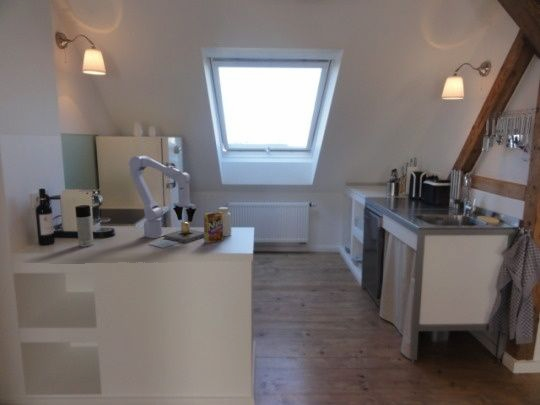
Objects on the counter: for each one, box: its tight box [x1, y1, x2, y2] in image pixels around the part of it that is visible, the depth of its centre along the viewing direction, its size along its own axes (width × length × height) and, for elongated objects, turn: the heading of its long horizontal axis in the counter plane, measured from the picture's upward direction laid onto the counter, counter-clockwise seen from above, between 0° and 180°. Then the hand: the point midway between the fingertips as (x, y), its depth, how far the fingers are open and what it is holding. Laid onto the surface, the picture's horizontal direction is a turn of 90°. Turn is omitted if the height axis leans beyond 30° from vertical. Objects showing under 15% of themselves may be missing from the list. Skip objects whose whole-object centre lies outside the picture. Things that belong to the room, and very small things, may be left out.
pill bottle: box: [218, 206, 232, 237], centre depth 207 cm, size 8×8×15 cm
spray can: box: [74, 204, 94, 248], centre depth 188 cm, size 7×7×20 cm
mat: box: [149, 239, 180, 249], centre depth 191 cm, size 10×10×1 cm
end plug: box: [180, 221, 191, 236], centre depth 203 cm, size 4×4×8 cm
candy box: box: [203, 210, 224, 244], centre depth 194 cm, size 9×4×15 cm, turn 123°
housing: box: [163, 229, 204, 244], centre depth 203 cm, size 16×16×2 cm
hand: (185, 220), depth 202 cm, fingers open, 7 cm apart
